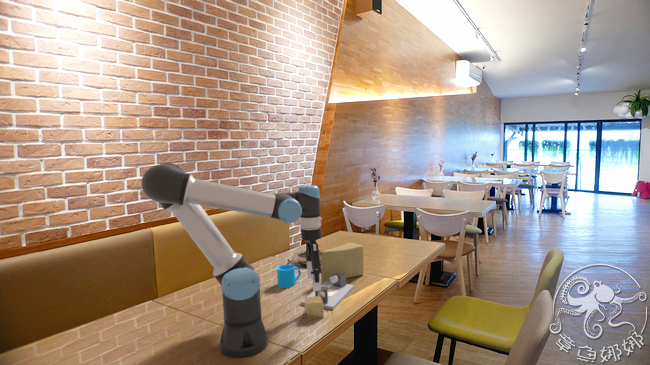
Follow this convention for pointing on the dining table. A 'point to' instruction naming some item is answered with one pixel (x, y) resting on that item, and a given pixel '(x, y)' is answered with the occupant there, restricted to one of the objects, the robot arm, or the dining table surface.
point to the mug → (287, 275)
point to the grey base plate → (333, 295)
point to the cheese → (342, 261)
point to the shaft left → (323, 293)
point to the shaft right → (338, 279)
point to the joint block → (314, 307)
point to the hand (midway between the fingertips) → (313, 283)
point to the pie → (301, 258)
